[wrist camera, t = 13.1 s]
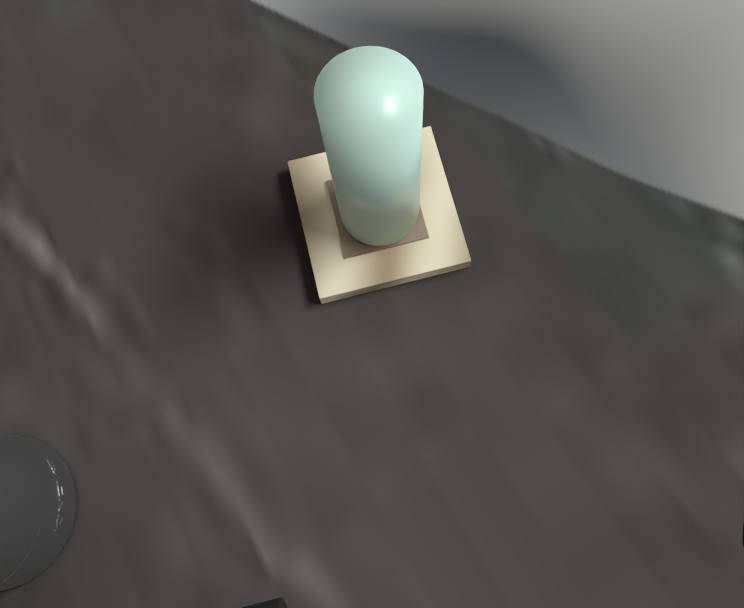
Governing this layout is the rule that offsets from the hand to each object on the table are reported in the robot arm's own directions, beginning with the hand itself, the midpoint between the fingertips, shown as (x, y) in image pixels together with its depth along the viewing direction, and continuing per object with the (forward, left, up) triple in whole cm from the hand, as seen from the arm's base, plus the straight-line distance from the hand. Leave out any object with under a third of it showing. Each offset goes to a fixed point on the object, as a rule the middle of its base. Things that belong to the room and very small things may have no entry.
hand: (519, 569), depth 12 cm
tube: (+1, +19, -29) cm, 35 cm away
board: (+1, +20, -30) cm, 36 cm away
